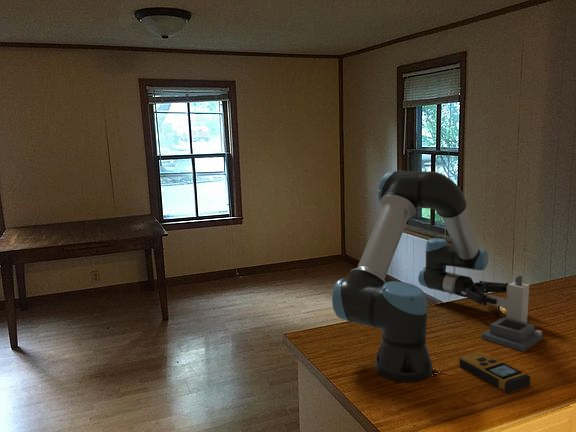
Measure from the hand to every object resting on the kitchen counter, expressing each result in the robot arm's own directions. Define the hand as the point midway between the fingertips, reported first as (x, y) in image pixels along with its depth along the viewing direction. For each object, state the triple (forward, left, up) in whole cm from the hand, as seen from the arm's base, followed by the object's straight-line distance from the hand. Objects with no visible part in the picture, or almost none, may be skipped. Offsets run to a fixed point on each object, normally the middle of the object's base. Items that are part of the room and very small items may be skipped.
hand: (516, 298), depth 162 cm
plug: (-1, -1, -8) cm, 8 cm away
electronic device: (-40, -13, -8) cm, 43 cm away
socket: (-15, -6, -8) cm, 17 cm away
